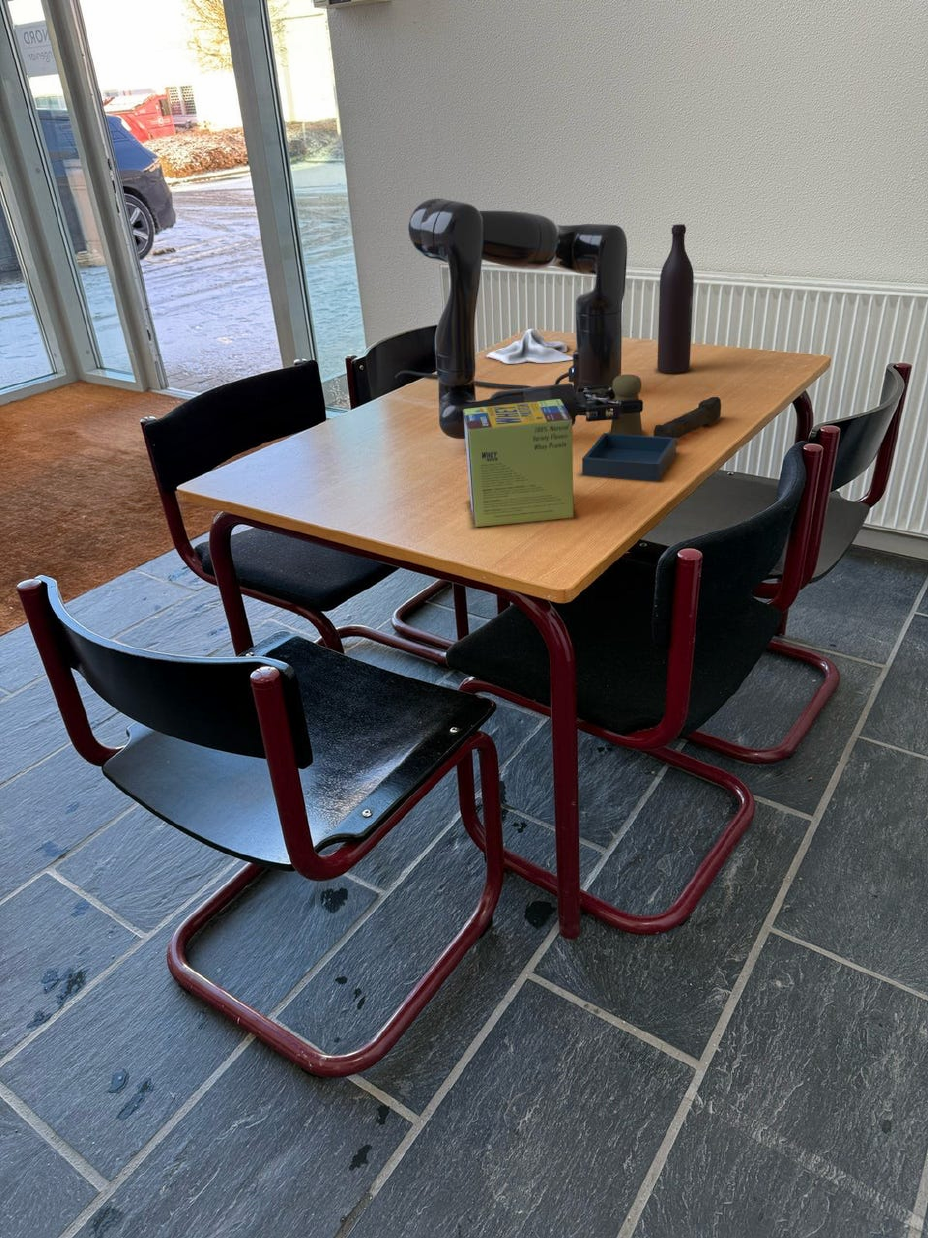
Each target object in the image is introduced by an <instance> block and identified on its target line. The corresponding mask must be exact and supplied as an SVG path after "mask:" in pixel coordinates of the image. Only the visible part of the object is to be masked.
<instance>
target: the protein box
mask: <svg viewBox="0 0 928 1238" xmlns="http://www.w3.org/2000/svg"><path fill="white" fill-rule="evenodd" d="M463 418H464V431H465V439H464V442H465V453H466V454H465V455H466V465H467V467H466V468H467V481H468V494H469V504H470V509H471V514H472V519H473V524H474V527H475V528H479V527H481V528H482V527H489V526H490V527H491V526H501V525H502V526H503V525H512V524H523V523H531V522H533V523H534V522H541V521H551V520H561V519H572V518H574V517H575V514H574V513H575V511H574V510H575V509H574V507H575V506H574V505H575V504H574V498H575V497H574V456H573V452H574V451H573V450H574V449H573V425H572V418H571V416H570V415H569V413H568V411H567V410H566V408H565V406H564V405H563V403H562V401H561V400H560V399H555V400H547V401H538V402H527V403H517V404H507V405H499V406H489V407H479V408H470V409H464V410H463Z"/></svg>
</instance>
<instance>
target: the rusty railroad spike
mask: <svg viewBox="0 0 928 1238" xmlns="http://www.w3.org/2000/svg"><path fill="white" fill-rule="evenodd" d="M697 406H698V407H696V408H695V409H693V410H690V411H688V412H686V413H684V414H682V415H680V416H678V417H675V418H674V419H672V420H670V421H667V422H665V423H663V424H655V426H654V428H653V436H655V437H671V438H676V440H678V439H681V438H682V437H683V436H685V435H688V434H691V433H692V432H694V431H696V430H697V429H699V428H702V427H705V428H708V427H711V426H713V425H714V424H715V423H716V422H717V421H718V420H719V419H720V418H721V416H722V399H721V398H720V397H719V396H712V397H709V398H707V399H703V400H701V401H700V402H699V403H698V405H697Z"/></svg>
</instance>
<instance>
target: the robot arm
mask: <svg viewBox="0 0 928 1238" xmlns="http://www.w3.org/2000/svg"><path fill="white" fill-rule="evenodd" d="M407 226H408V227H407V230H408V237H409V239H410V242H411V244H412V246H413V247H414V249H416V251H417V252H419V253H420V254H421V255H423V256H424V257H427V258H428V259H432V260H434V261H440V262H444V263H447V264H448V265H447V266H448V271H449V279H450V285H449V286H450V287H449V294H448V298H447V300H446V301H447V302H446V304H445V306H444V308H443V311H442V313H441V315H440V318H439V320H438V323H437V326H436V329H435V334H434V355H435V371H436V374H435V373H430V372H429V373H427V372H418V371H414V370H401V371H400V372H398V373H397V374H396V375H395V376H394V379H399V378H400V377H402V376H404V375H409V376H415V377H420V378H432V379H437V380H438V383H437V385H438V391H437V392H438V424H439V428H440V430H441V431H442V433H443V434H444V435H445V436H447V437H449V438H451V439H456V440H465V431H464V418H463V410H464V409H470V408H479V407H489V406H499V405H507V404H517V403H527V402H538V401H547V400H555V399H560V400H561V401H562V403H563V405H564V406H565V408H566V410H567V411H568V413H569V415H570V416H571V418H572V426H574V425H575V424H576V421H577V416H583V417H585V422H587V423H590V422H601V421H602V422H603V421H612V420H617V419H619V418H620V416H621V415H622V414H626V413H639V412H640V413H642V412H643V410H644V401H643V400H642V399H641V398H639V399H635V400H623V401H619V400H615V393H614V392H613V388H612V384H613V381H614V379H615V378H616V377H617V376H620V375H622V352H623V351H622V348H623V347H622V346H623V345H622V344H623V342H622V341H623V340H622V339H623V301H624V297H625V292H626V281H627V268H628V267H627V266H628V239H627V235H626V233H625V231H624V229H623V228H622V227H621V226H619V225H617V224H616V225H615V224H606V223H605V224H604V223H603V224H602V223H601V224H600V223H583V224H572V225H571V224H570V225H562V224H556V223H555V222H554V221H553V220H552V219H551V218H549V217H547V216H545V215H542V214H537V213H532V212H525V211H514V210H513V211H512V210H479V209H478V208H477V207H475V206H474V205H472V204H470V203H467V202H461V201H456V200H450V199H445V198H439V197H437V198H431V199H430V198H429V199H427V200H424V201H423V202H422V203H420V204H418V206H417V207H416V208H414V210H413V212H412V213H411V214H410V217H409V219H408V225H407ZM483 261H485V262H489V263H492V264H495V265H500V266H504V267H509V268H514V269H521V270H522V269H523V270H543V269H546V268H548V267H555V268H559V269H564V270H567V271H570V272H573V273H576V274H580V275H587V276H595V285H594V288H593V289H592V290H590V291H587V292H584V293H581V294H580V295H578V296H577V297H576V299H575V347H576V349H575V350H574V351H573V353H572V357H573V360H572V365H571V366H570V367H569V368H568V372H565V373H562V374H561V375H560V376H558V377H557V378H556V380H555V382H554V384H547V385H535V386H531V385H526V384H509V383H496V382H495V383H494V382H485V381H479V380H475V378H476V377H475V376H476V369H477V368H476V367H477V366H476V363H477V362H476V360H477V359H476V314H477V306H478V298H479V290H480V284H481V273H482V266H483ZM566 378H568V383H560V382H561V381H563V380H565V379H566ZM476 386H480V387H487V388H495V389H502V390H498V391H495V392H493V393H492V394H491V396H490V397H489V398H485V399H482V400H477V396H476Z"/></svg>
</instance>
